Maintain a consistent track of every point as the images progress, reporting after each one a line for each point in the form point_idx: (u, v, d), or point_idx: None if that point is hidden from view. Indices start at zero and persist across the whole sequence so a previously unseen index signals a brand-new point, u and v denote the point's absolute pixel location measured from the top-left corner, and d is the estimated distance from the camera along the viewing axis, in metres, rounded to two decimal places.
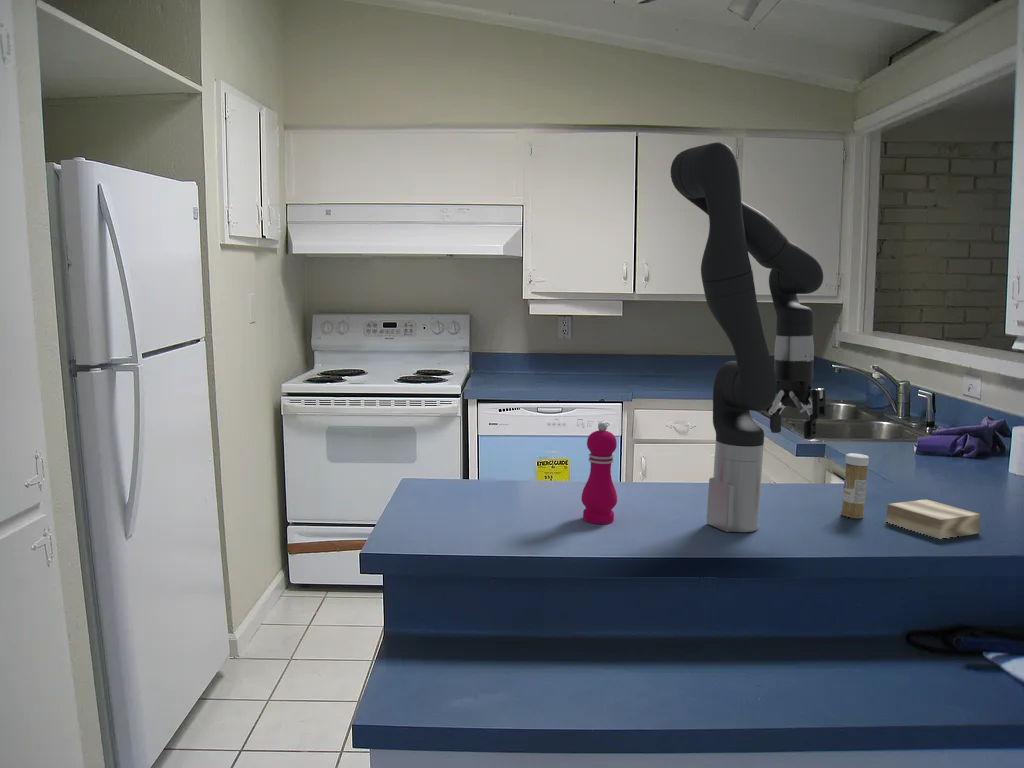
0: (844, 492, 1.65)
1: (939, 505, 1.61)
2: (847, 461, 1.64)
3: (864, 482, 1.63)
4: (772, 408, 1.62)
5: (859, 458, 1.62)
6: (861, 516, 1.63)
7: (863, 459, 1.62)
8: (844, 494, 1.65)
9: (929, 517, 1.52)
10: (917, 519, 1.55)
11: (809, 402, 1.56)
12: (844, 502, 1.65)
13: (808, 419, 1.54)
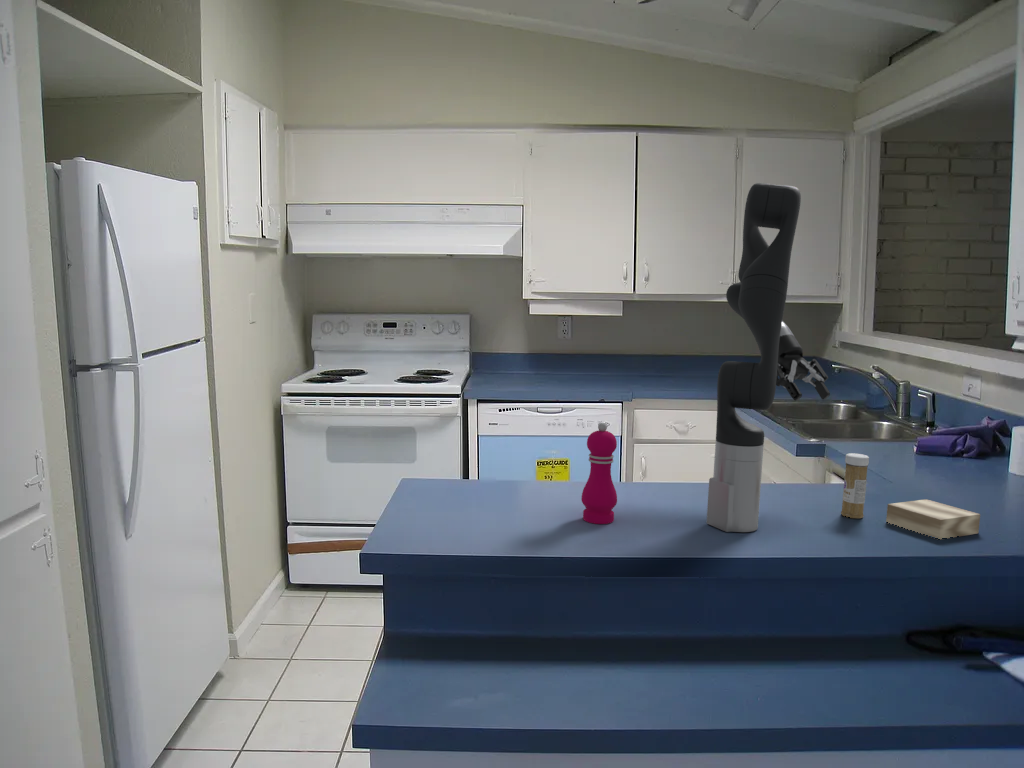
0: (844, 492, 1.65)
1: (939, 505, 1.61)
2: (847, 461, 1.64)
3: (864, 482, 1.63)
4: (790, 376, 1.75)
5: (859, 458, 1.62)
6: (861, 516, 1.63)
7: (863, 459, 1.62)
8: (844, 494, 1.65)
9: (929, 517, 1.52)
10: (917, 519, 1.55)
11: None
12: (844, 502, 1.65)
13: (822, 379, 1.78)
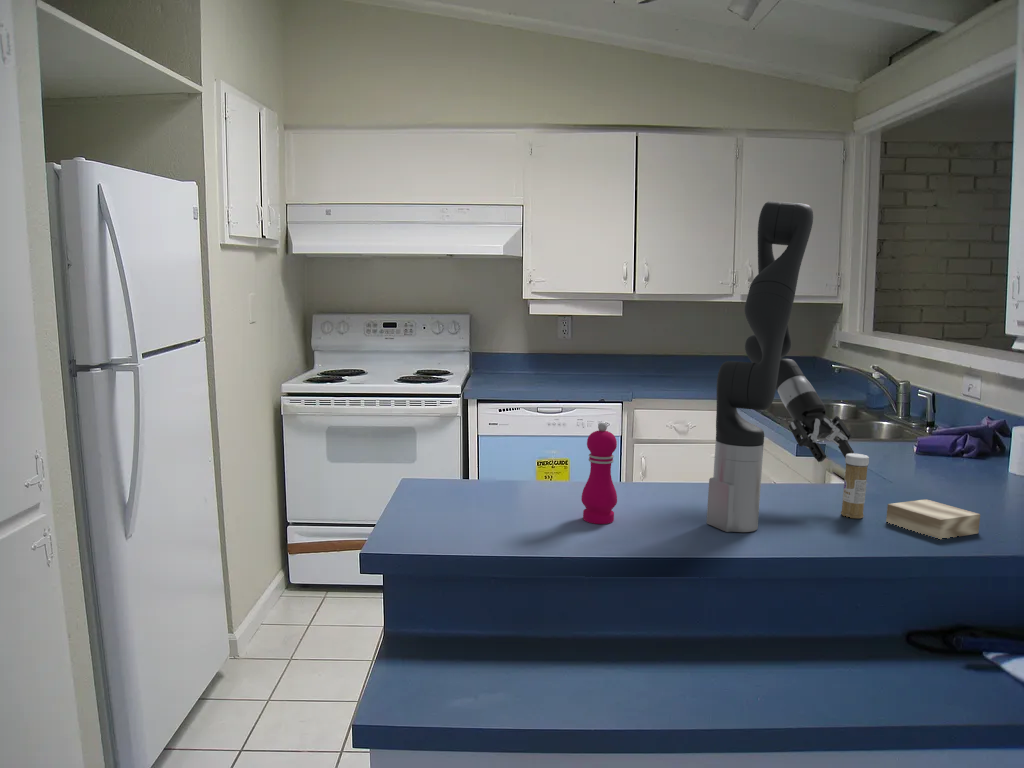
0: (844, 492, 1.65)
1: (939, 505, 1.61)
2: (847, 461, 1.64)
3: (864, 482, 1.63)
4: (814, 436, 1.69)
5: (859, 458, 1.62)
6: (861, 516, 1.63)
7: (863, 459, 1.62)
8: (844, 494, 1.65)
9: (929, 517, 1.52)
10: (917, 519, 1.55)
11: None
12: (844, 502, 1.65)
13: (846, 438, 1.72)
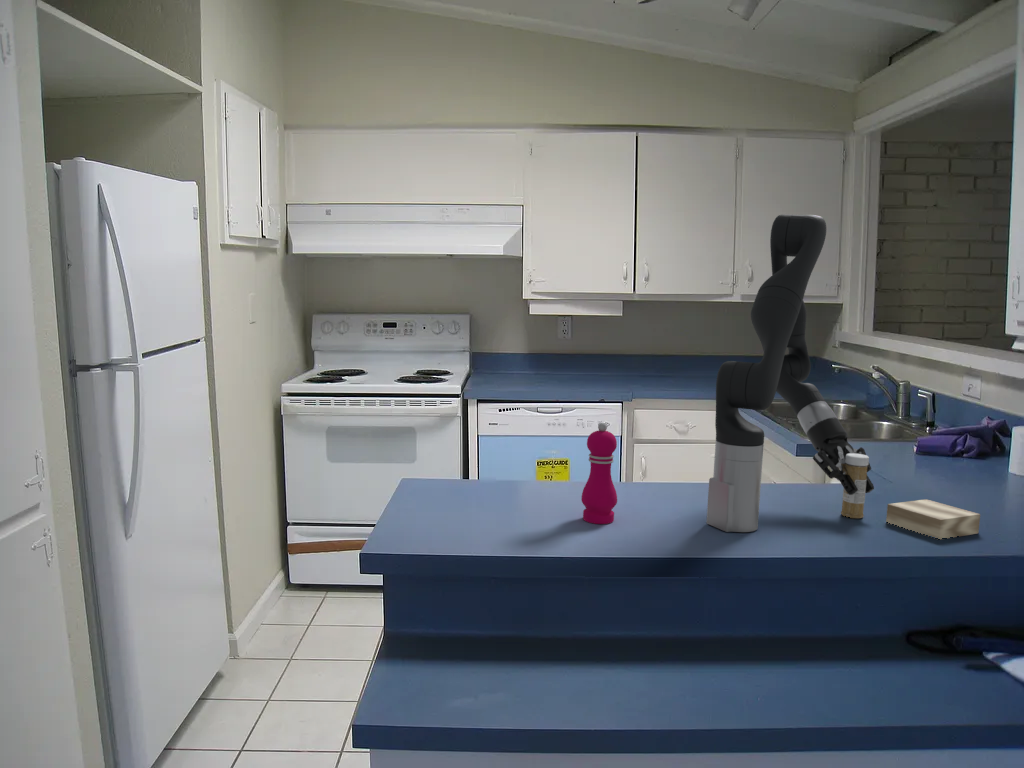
0: (844, 492, 1.65)
1: (939, 505, 1.61)
2: (847, 461, 1.63)
3: (864, 482, 1.63)
4: (844, 468, 1.64)
5: (859, 458, 1.62)
6: (861, 516, 1.63)
7: (862, 459, 1.62)
8: (844, 494, 1.65)
9: (929, 517, 1.52)
10: (917, 519, 1.55)
11: None
12: (844, 502, 1.65)
13: None
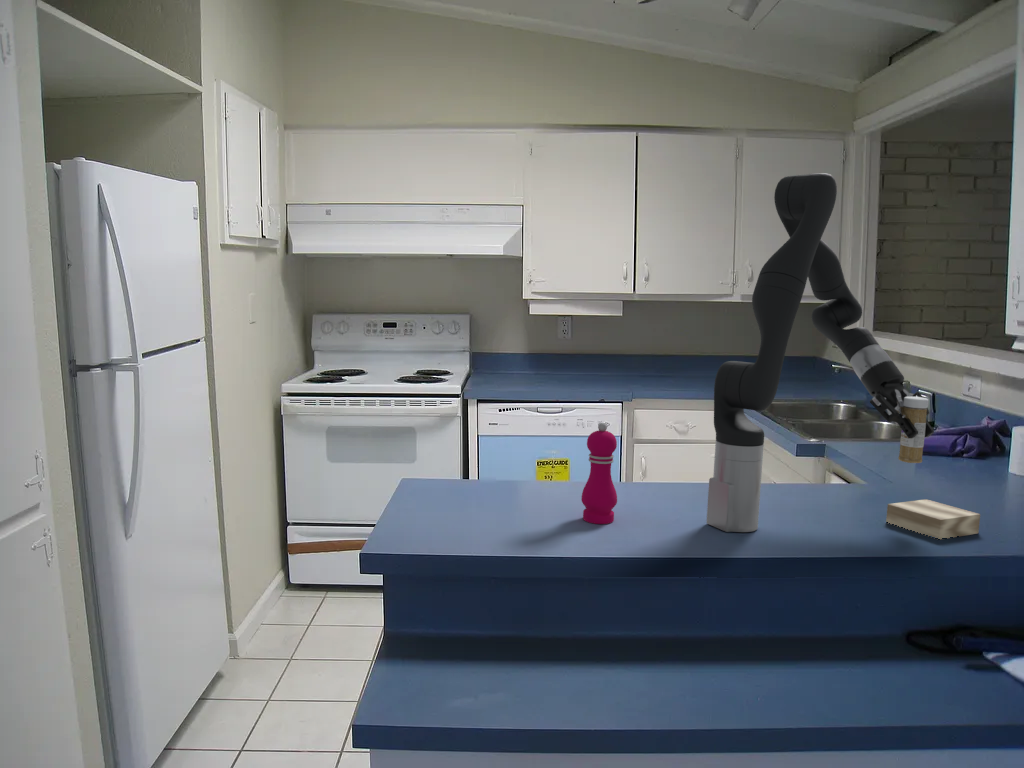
0: (902, 436, 1.59)
1: (939, 505, 1.61)
2: (906, 404, 1.58)
3: (924, 425, 1.57)
4: (903, 411, 1.58)
5: (919, 400, 1.56)
6: (920, 461, 1.58)
7: (923, 401, 1.56)
8: (902, 438, 1.59)
9: (929, 517, 1.52)
10: (917, 519, 1.55)
11: None
12: (902, 447, 1.59)
13: None
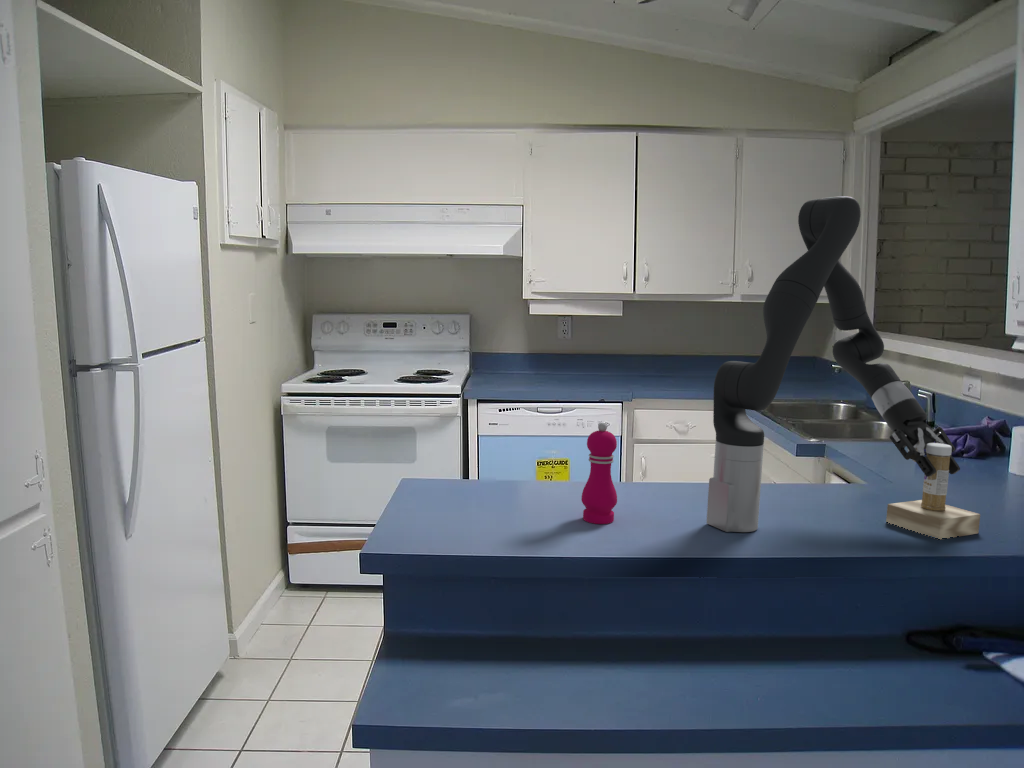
0: (925, 483, 1.58)
1: None
2: (928, 451, 1.56)
3: (947, 473, 1.56)
4: (921, 449, 1.56)
5: (942, 447, 1.55)
6: (943, 508, 1.56)
7: (946, 449, 1.54)
8: (925, 485, 1.58)
9: (929, 517, 1.52)
10: (917, 519, 1.55)
11: None
12: (925, 494, 1.58)
13: None
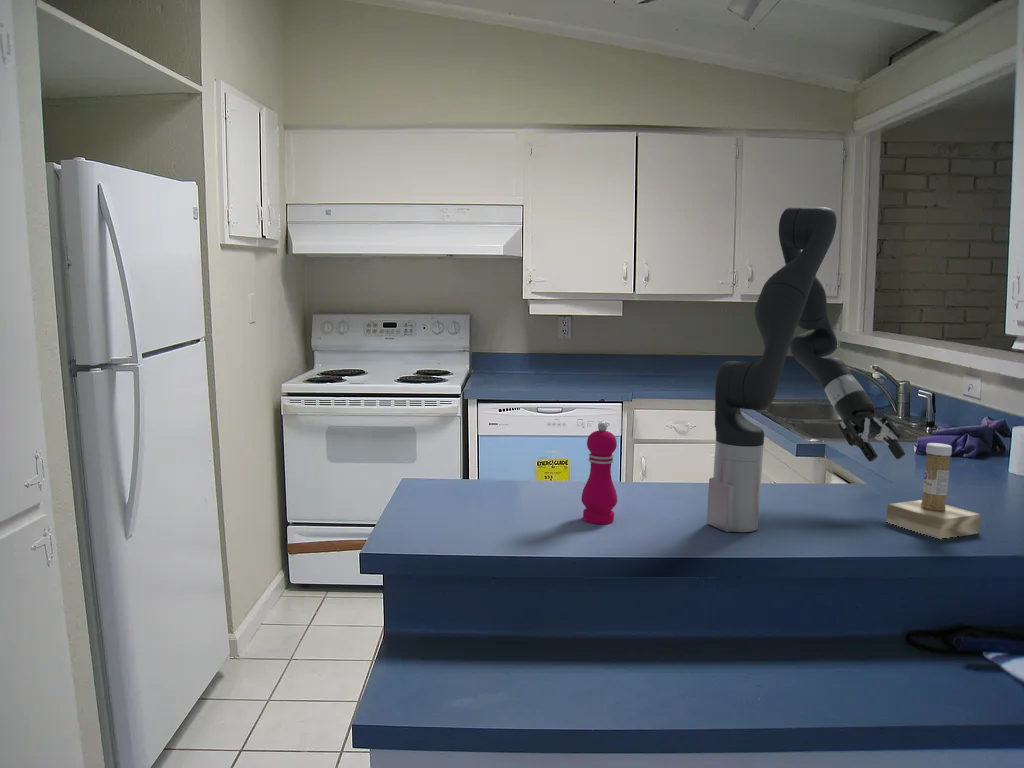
0: (925, 483, 1.58)
1: None
2: (928, 451, 1.57)
3: (947, 473, 1.56)
4: (864, 436, 1.68)
5: (942, 447, 1.55)
6: (943, 508, 1.56)
7: (946, 449, 1.55)
8: (925, 485, 1.58)
9: (929, 517, 1.52)
10: (917, 519, 1.55)
11: None
12: (925, 494, 1.58)
13: (896, 438, 1.71)
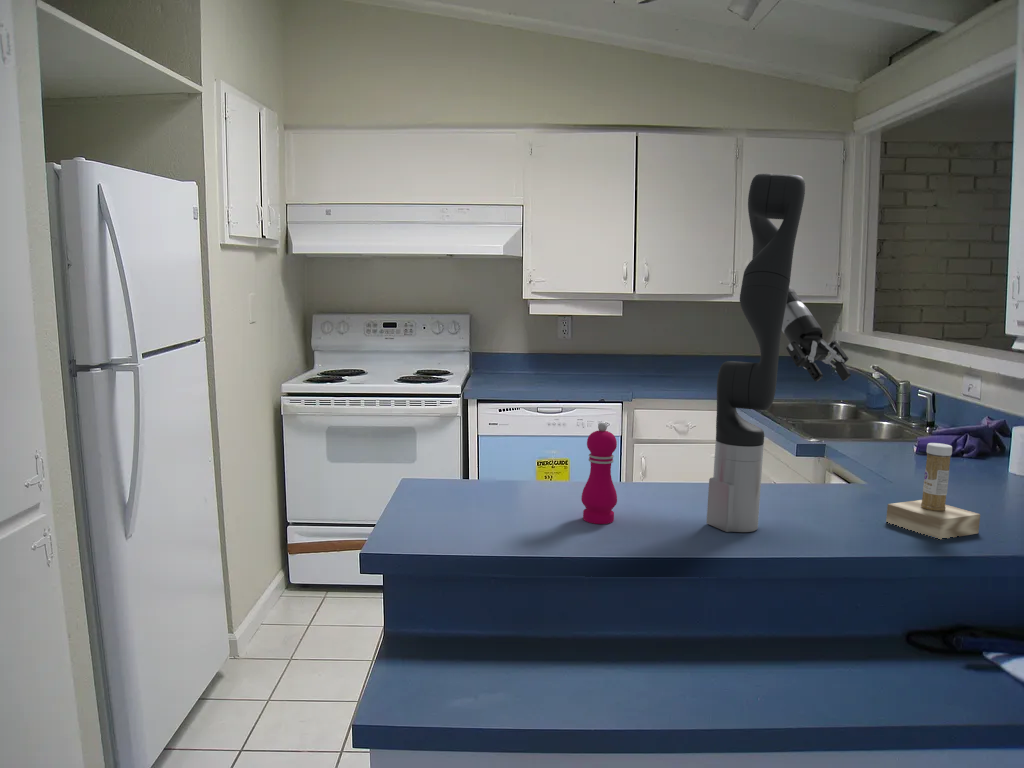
0: (925, 483, 1.58)
1: None
2: (929, 451, 1.56)
3: (947, 473, 1.56)
4: (811, 357, 1.72)
5: (942, 448, 1.55)
6: (943, 508, 1.56)
7: (946, 449, 1.54)
8: (925, 485, 1.58)
9: (929, 517, 1.52)
10: (917, 519, 1.55)
11: None
12: (925, 494, 1.58)
13: (843, 360, 1.75)
